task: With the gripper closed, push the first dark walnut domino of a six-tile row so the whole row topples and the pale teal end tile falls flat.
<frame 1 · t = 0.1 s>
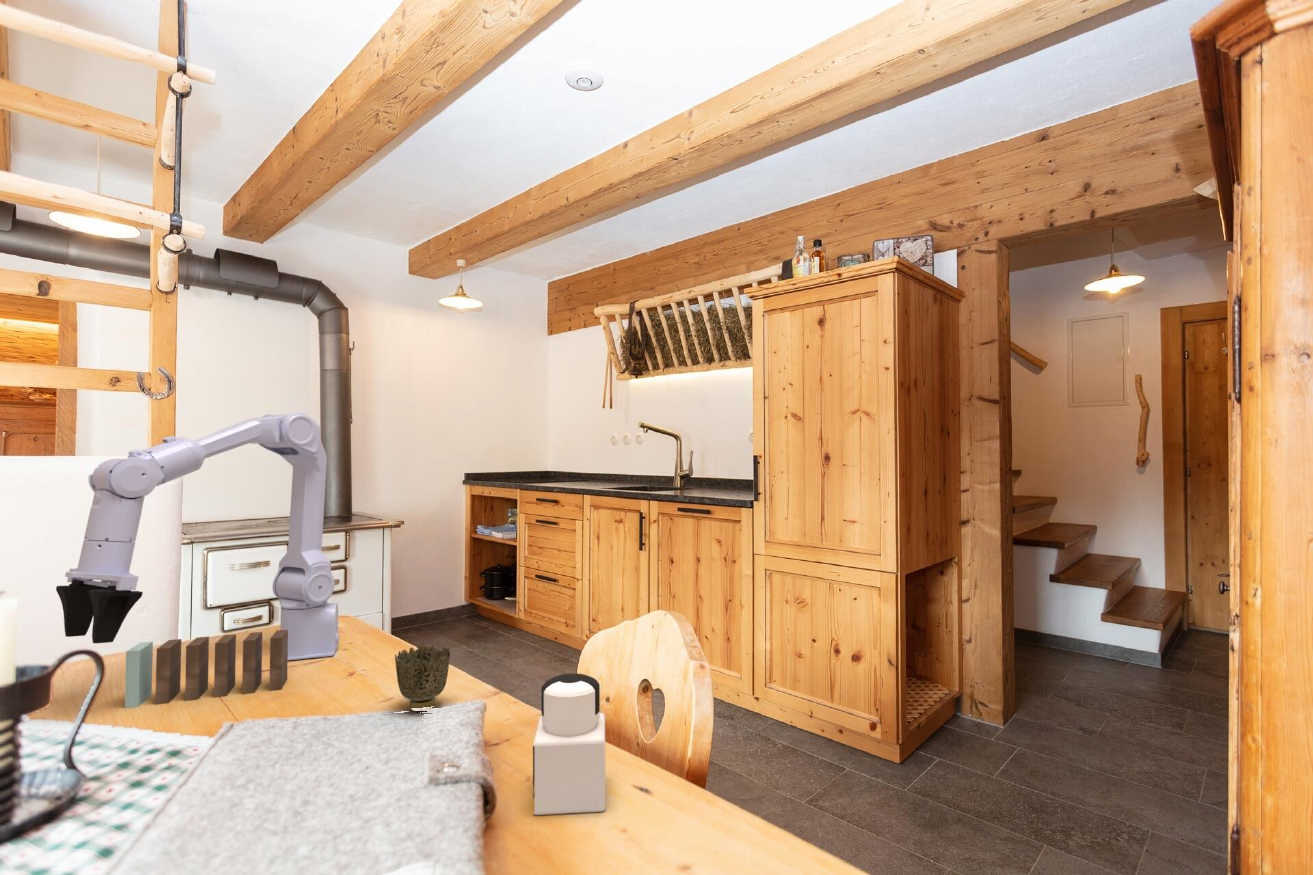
hand: (88, 639, 89), 10 cm above the table, tool pointing down, fingers open, 7 cm apart
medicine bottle: (571, 797, 66), on the table
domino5: (168, 697, 95), on the table
domino6: (138, 701, 94), on the table
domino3: (224, 691, 98), on the table
domino1: (278, 685, 100), on the table
domino4: (196, 694, 96), on the table
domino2: (252, 688, 99), on the table
cup: (422, 710, 90), on the table
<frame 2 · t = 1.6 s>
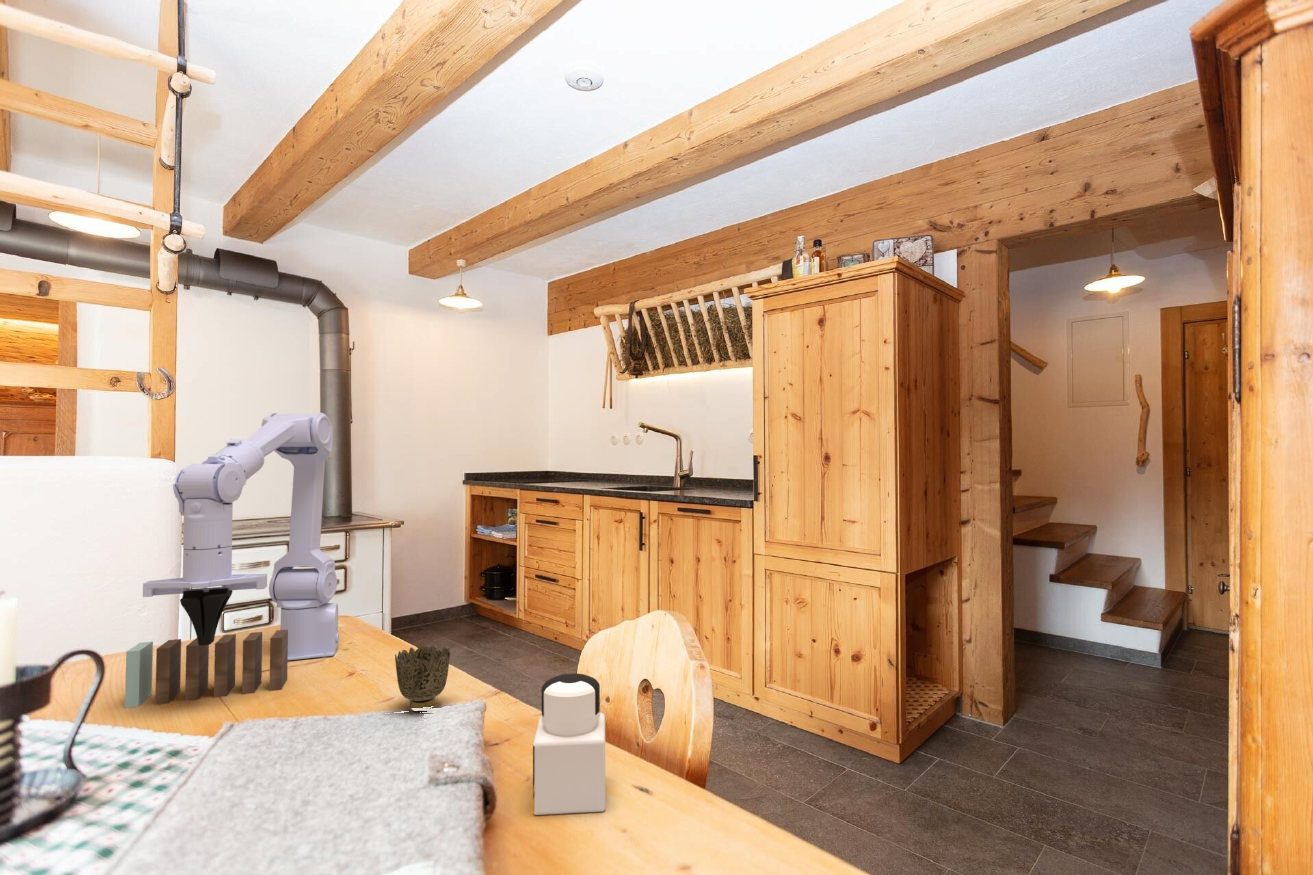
hand: (206, 643, 91), 9 cm above the table, tool pointing down, fingers closed
nothing on the table moved.
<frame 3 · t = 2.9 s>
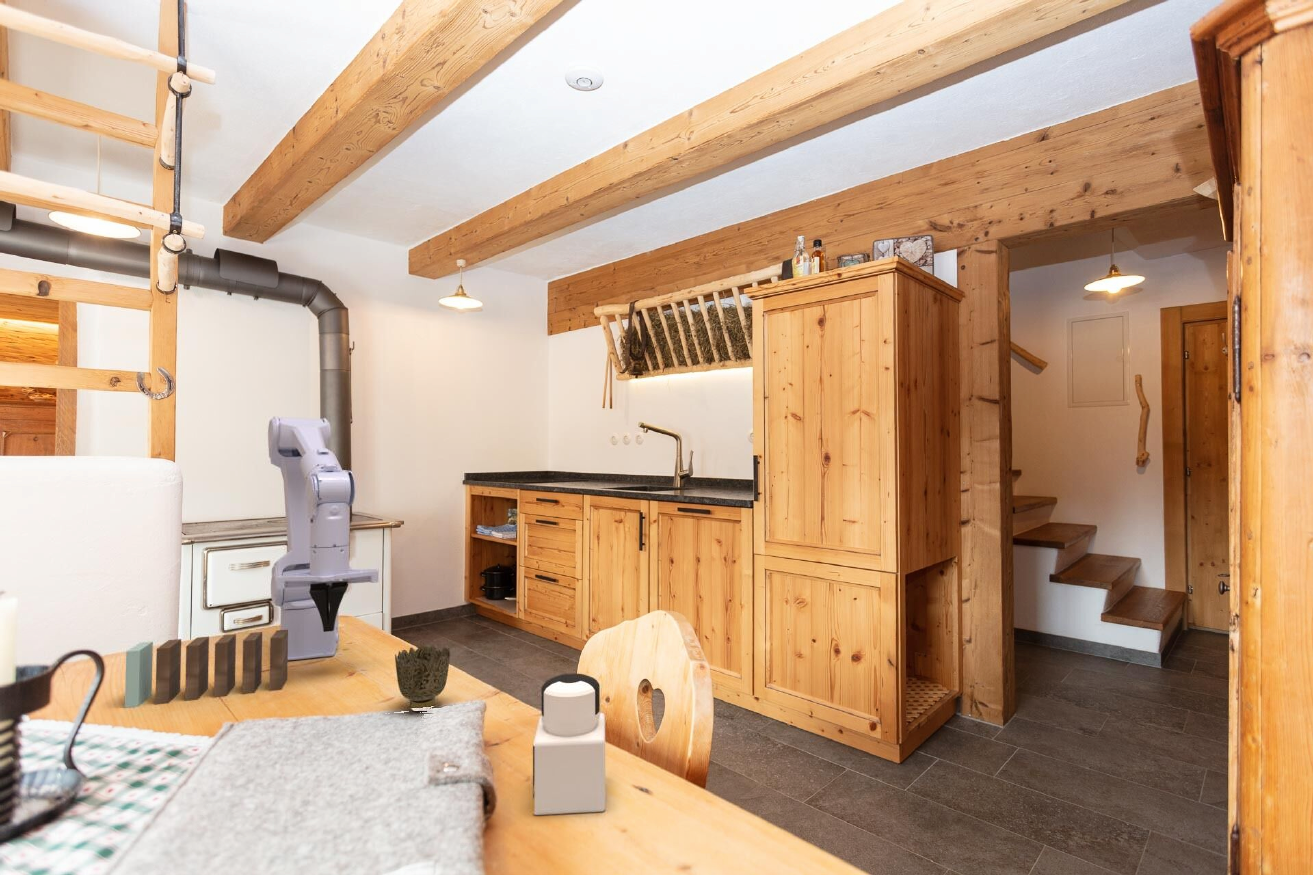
hand: (329, 630, 103), 8 cm above the table, tool pointing down, fingers closed
nothing on the table moved.
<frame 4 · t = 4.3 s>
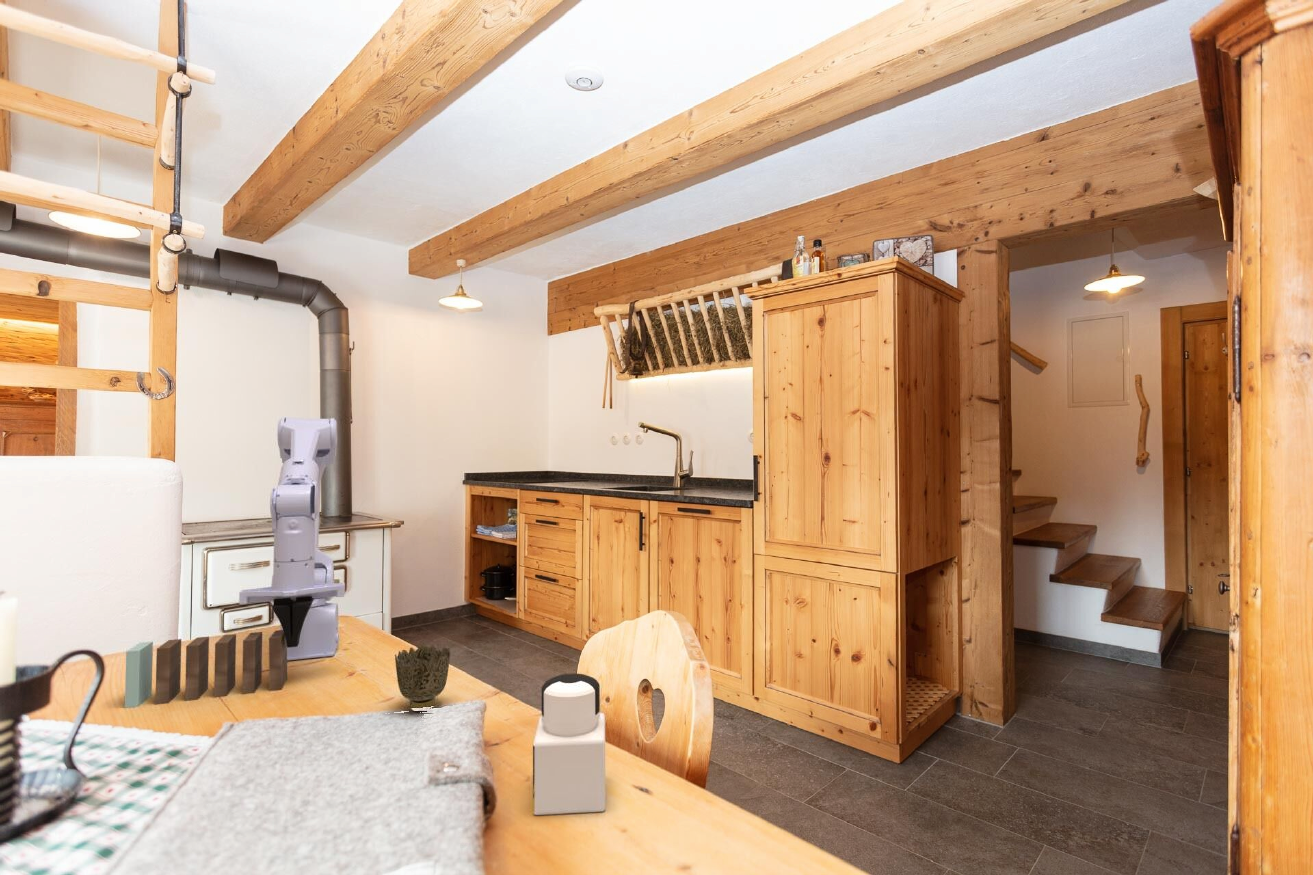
hand: (293, 645, 101), 6 cm above the table, tool pointing down, fingers closed
nothing on the table moved.
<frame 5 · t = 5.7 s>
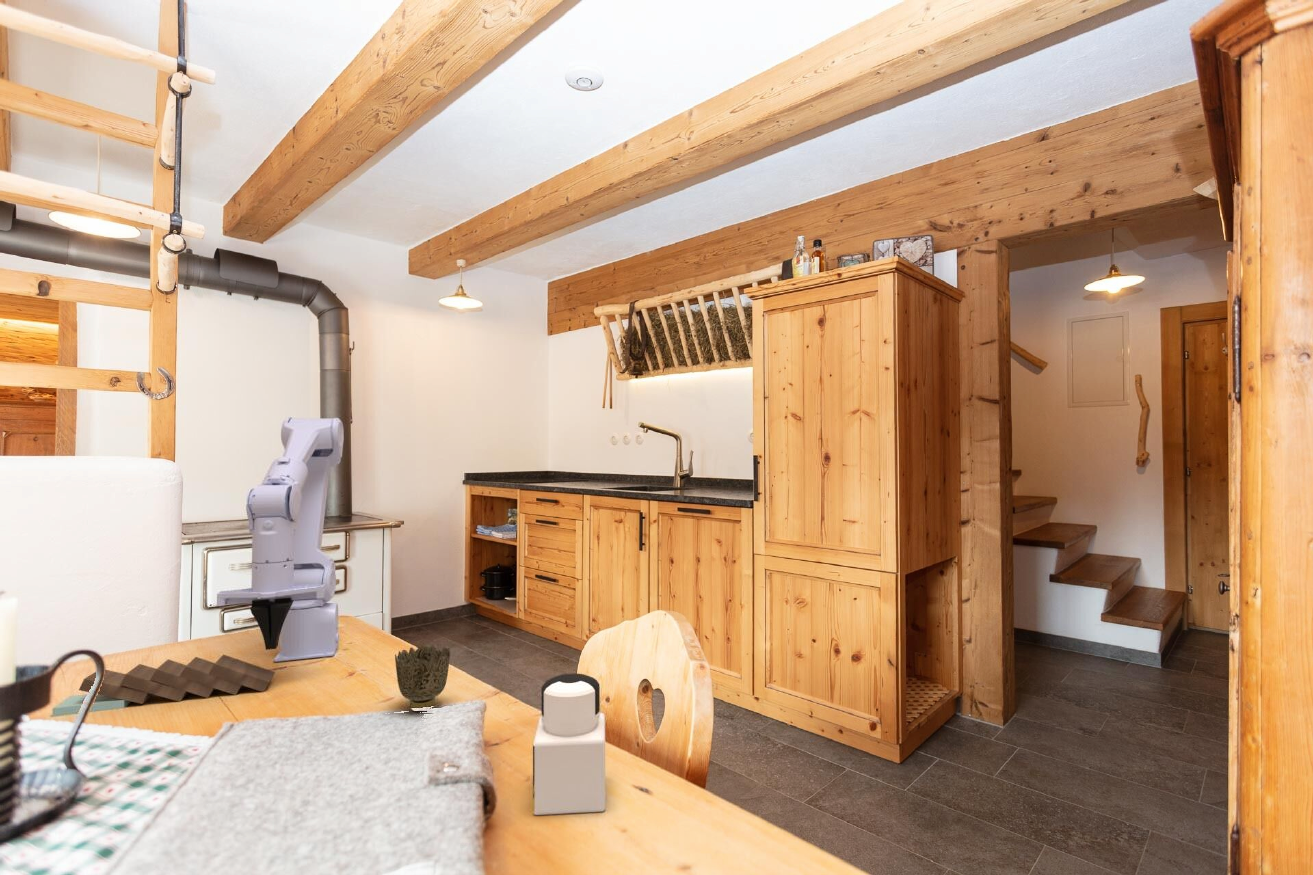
hand: (271, 647, 100), 6 cm above the table, tool pointing down, fingers closed
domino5: (152, 692, 95), point 1 cm above the table, tilted 69°
domino6: (130, 699, 94), on the table, tilted 90°
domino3: (215, 687, 97), point 1 cm above the table, tilted 63°, touching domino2, domino4
domino1: (269, 681, 100), point 1 cm above the table, tilted 63°, touching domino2
domino4: (188, 690, 96), point 1 cm above the table, tilted 65°, touching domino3
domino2: (242, 684, 99), point 1 cm above the table, tilted 63°, touching domino1, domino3
everything else where it was.
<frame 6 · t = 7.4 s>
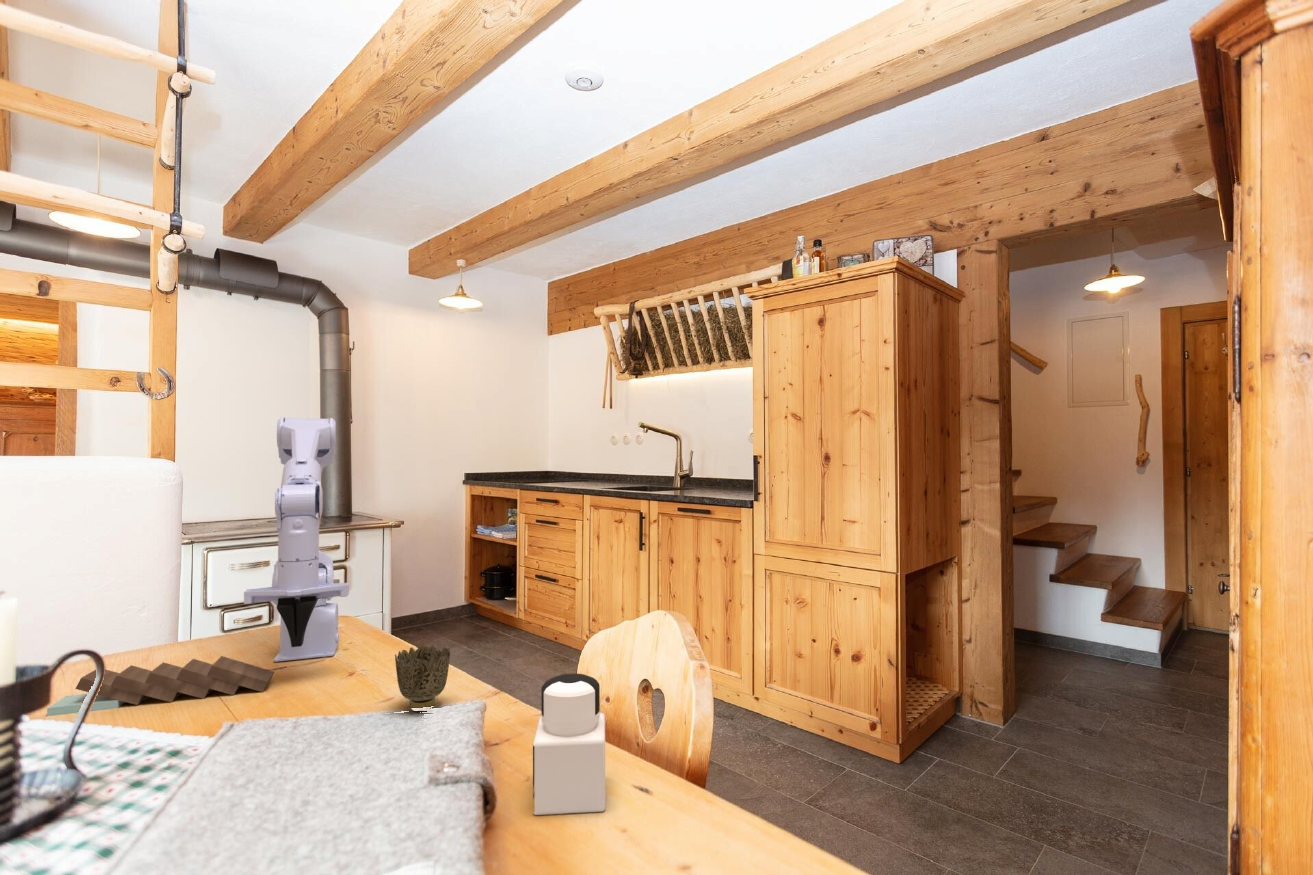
hand: (297, 645, 101), 6 cm above the table, tool pointing down, fingers closed
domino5: (147, 693, 95), point 1 cm above the table, tilted 67°, touching domino4
domino4: (180, 691, 96), point 1 cm above the table, tilted 66°, touching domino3, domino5
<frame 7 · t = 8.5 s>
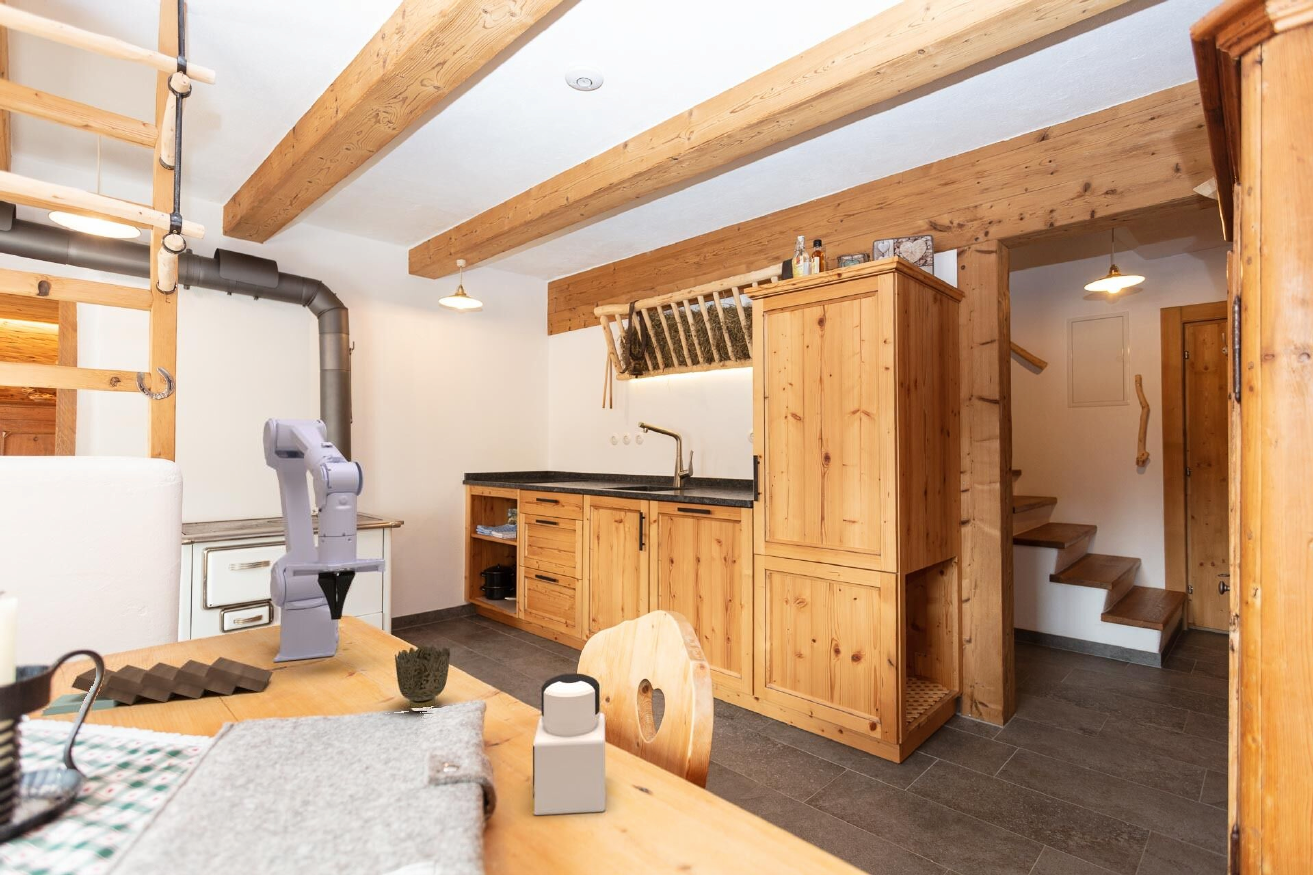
hand: (336, 618, 105), 9 cm above the table, tool pointing down, fingers closed
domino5: (142, 693, 95), point 1 cm above the table, tilted 66°, touching domino4, domino6
domino6: (121, 699, 94), on the table, tilted 90°, touching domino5
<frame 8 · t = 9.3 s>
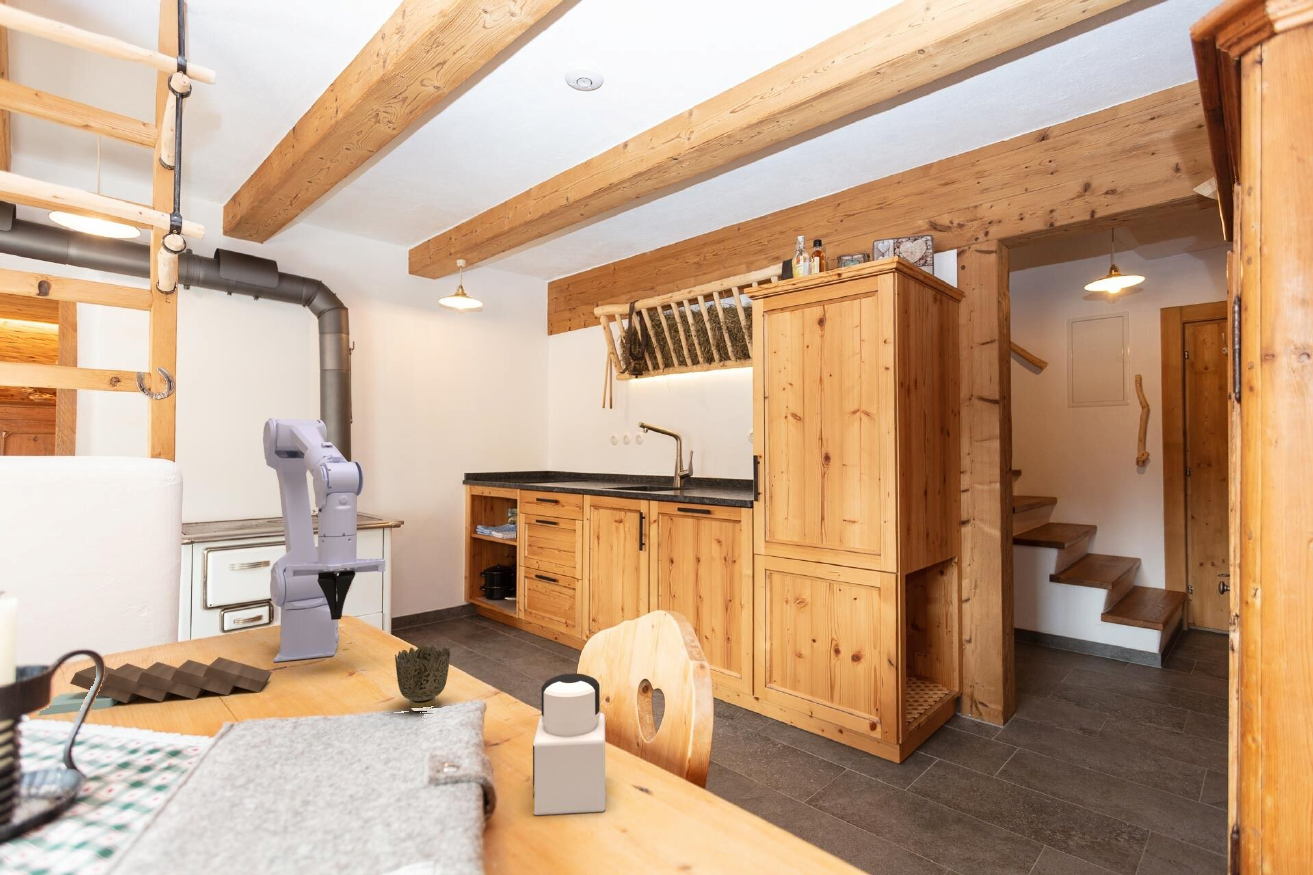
hand: (336, 618, 105), 9 cm above the table, tool pointing down, fingers closed
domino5: (139, 692, 95), point 1 cm above the table, tilted 66°, touching domino4
domino6: (118, 699, 94), on the table, tilted 90°
at the end: domino6 tilted 90°; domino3 tilted 66° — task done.
